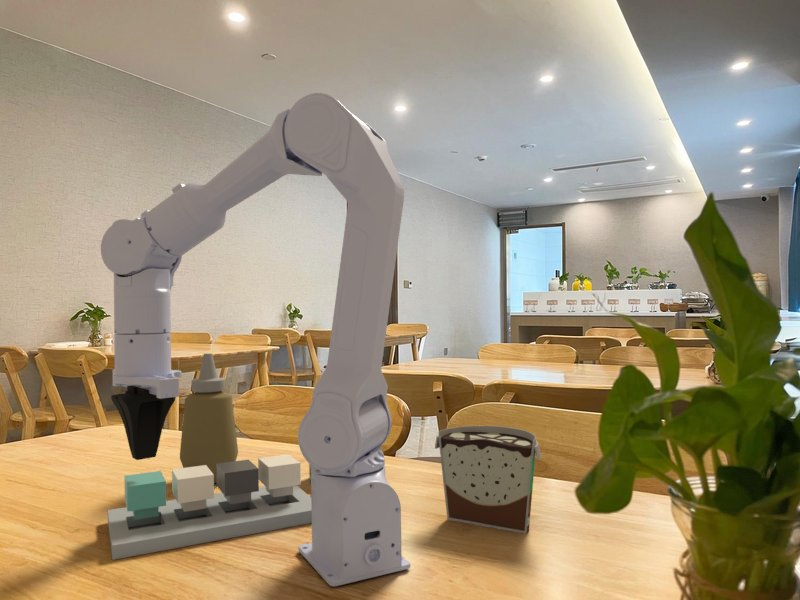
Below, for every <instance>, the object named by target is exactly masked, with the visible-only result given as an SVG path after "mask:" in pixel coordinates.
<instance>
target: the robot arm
mask: <svg viewBox="0 0 800 600" xmlns="http://www.w3.org/2000/svg"><path fill="white" fill-rule="evenodd" d="M387 143H388V142H387V141H386V140H385V139H384V138H383V137H382V136H381V135H380V134H379V133H378V132H377V131H376V130H375V129H374V128H373V127H372V126H371V125H369V124H368V123H367V122H365V121H364V120H361V119H359V118H358V117H357V116H356V115H354V114H353V113H352V112H351V111H349V110H348V109H347V108H346V107H345V105H344V104H342V103H341V102H340V101H339V100H338V99H337V98H336V97H334V96H332V95H331V94H327V93H322V92H315V93H308V94H306V95H305V96H303V97H301V98H300V99H299V100H297V101H296V102H295V103H294V104H293V105H292V107H290V108H286V110H284V111H281V112H280V113H278V114H277V115H276V117H275V118H274V120H273V122H272V125H271V127H270V128H269V130H268V131H267V132H266V133H264V135H262V136H261V137H260V138H259V139H258V140H256V141H255V142H254V143H253V144H252V145H251V146H250V147H248V148H246V150H245V151H243V152H242V153H241V154H240V155H239V156H237V157H236V158H235V159H234V160H233V161H231V162H230V163H229V164H228V165H226V167H225V168H223V169H222V170H221V171H219V173H217V174H216V175H215V176H214V177H212V178H211V179H210V180H209V181H207V182H206V183H205V184H201V183H198V182H193V181H192V182H191V181H190V182H187V183H186V184H183V183H178V184H176V185H175V186H174V187H172V189H171V191H172V194H170V195H169V196H168V197H166V198H165V199H164V200H162V201H161V202H160V203H158V204H157V205H155V207H152V208H151V209H150V210H149V209H146V210H145V211H143V212H142V213H141V214H140V217H136V218H135V219H127V218H126V219H125V218H123V219H118V220H115V221H114V222H113V223H112V224H111V226H109V227H108V228H107V229H106V230H105V232H104V234H103V235H102V240H101V243H100V255H101V259H102V261H103V263H104V265H105V266H106V268H107V269H108V270H109V271H110V272H112V273H113V316H114V318H113V320H114V321H113V323H114V325H113V329H114V331H113V332H114V343H113V344H114V369H112V371H111V372H112V386H113V387H125V388H126V390H125V391H124V393H116V394H112V395H111V396H110V397H111V398H110V399H111V401H112V403H113V404H114V405H115V406H114V407H115V408H116V409H117V411H118V414H119V416H120V419H121V420H122V423H123V428H124V430H125V435H126V439H127V443H128V446H129V450H130V454H131V456H132V459H134V460H136V461H139V460H145V459H150V458H156V456H157V452H158V450H159V446H160V445H159V444H160V440H161V436H162V433H163V432H162V431H163V427H164V424H165V421H166V418H167V416H168V414H169V412H170V410H171V408H172V406H173V405H174V403H175V401H176V398H179V397H180V378H181V377H182V376H183V375H182V374H183V373H182V371H181V370H180V369H179V370H178V369H172V338H171V337H172V334H171V331H172V329H171V325H172V323H171V316H172V315H171V290H172V287H174V276H175V273H176V272H177V269H178V268H179V266H180V264H181V262H182V258H183V256H184V255H185V254H187V253H188V252H189V251H191V250H192V249H194V248H195V247H196V246H198V245H199V244H201V243H202V242H203V241H205V240H206V239H208V238H210V237H211V236H212V235H214V234H215V233H217V232H218V231H219V230H221V229H222V228H223V227H224V226H225V223H226V215H227V211H229V210H230V209H233V208H234V207H236V206H237V205H239V204H240V203H242V202H243V201H245V200H247V199H248V198H250V197H252V196H253V195H255V194H257V193H258V192H260V191H262V190H263V189H265V188H267V187H268V186H270V185H271V184H273V183H275V182H276V181H278V180H279V179H281V178H283V177H285V176H287V175H299V176H312V177H313V176H314V177H322V176H323V175H325V176H326V177H327V180H329V181H330V182H331V184H332V185H333V186H334V187H335V189H336V190H337V191H338V192H339V194H340V195H342V197H343V198H344V199H345V201H346V202H347V208H346V209H347V211H346V216H345V217H346V219H345V223H344V224H345V227H344V233H343V240H342V248H341V255H340V264H339V270H338V271H339V272H338V277H337V278H338V279H337V286H336V293H335V300H334V301H335V303H334V311H333V318H332V325H331V332H330V339H329V340H330V341H329V349H328V355H327V363H326V367H325V369H324V371H323V372H322V374H321V376H320V377H319V379H318V380H317V382H316V384H315V386H314V387H313V390H312V399H311V403H310V406H309V408H308V410H307V412H306V413H305V414H304V416H303V417H302V419H301V422H300V424H299V427H298V431H297V441H298V446H299V450H300V452H301V454H302V456H303V458H304V459H305V460H306V462H307V463H308V464H310V465H311V479H310V489H311V490H310V492H311V493H310V495H311V496H310V497H311V510H312V523H311V542H308V543H305V544H299V545H298V547H297V548H298V550H297V551H298V552H299V553H300V554H301V555H302V556H303V558H304V559H305V560H306V561H308V563H309V564H310V565H311V566H312V568H314V570H315V571H316V572H317V574H319V575H320V577H321V578H322V579H323V580H324V581H325V582H326V583H327V584H328V585H329V586H330V587H339V586H342V585H343V586H344V585H347V584H352V583H355V582H358V581H359V582H360V581H363V580H368V579H372V578H377V577H380V576H384V575H388V574H392V573H395V572H396V573H397V572H401V571H405V570H408V569H410V568H411V562H410V561H409V560H408V559H406V558H405V557H403V556H402V509H401V508H402V506H401V505H402V504H401V501H400V498H399V496H398V495H399V494H397V492H396V490H395V488H393V487H392V486H391V485H390V482H388V480H387V476H386V467H385V466H386V464H385V463H386V458H385V455H384V452H383V450H382V446H383V445H384V444H385V443H386V442H387V440H388V438H389V436H390V434H391V431H392V426H393V425H392V422H393V421H392V414H391V411H390V409H389V405H388V388H389V387H388V383H387V380H386V378H385V376H384V374H383V372H382V365H383V359H384V358H383V357H384V350H385V343H386V337H387V328H388V321H389V313H390V306H391V299H392V298H391V297H392V291H393V284H394V278H395V277H394V275H395V267H396V260H397V254H398V246H399V238H400V232H401V224H402V217H403V209H404V202H405V189H404V185H403V183H402V181H401V178H400V176H399V174H398V172H397V169H396V167H395V165H394V162H393V160H392V158H391V156H390V154H389V151H388V144H387Z"/></svg>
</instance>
